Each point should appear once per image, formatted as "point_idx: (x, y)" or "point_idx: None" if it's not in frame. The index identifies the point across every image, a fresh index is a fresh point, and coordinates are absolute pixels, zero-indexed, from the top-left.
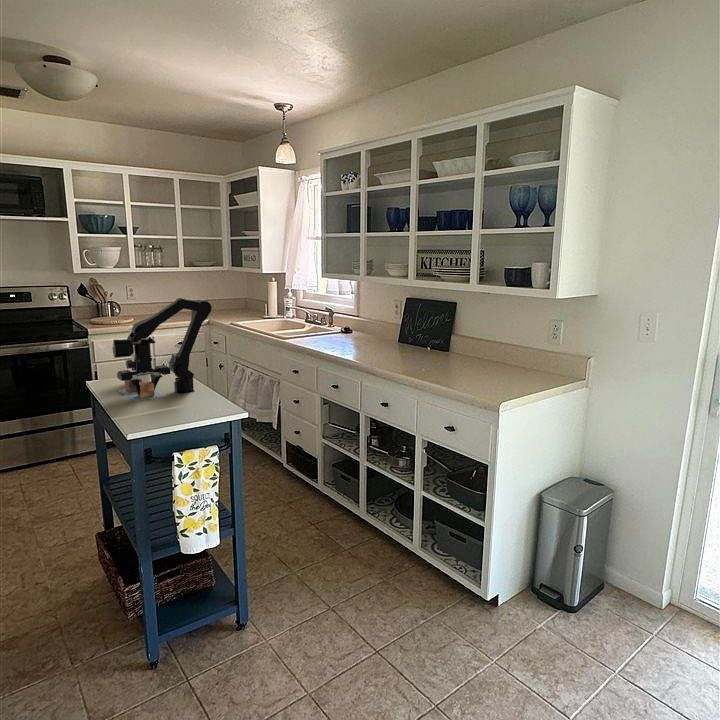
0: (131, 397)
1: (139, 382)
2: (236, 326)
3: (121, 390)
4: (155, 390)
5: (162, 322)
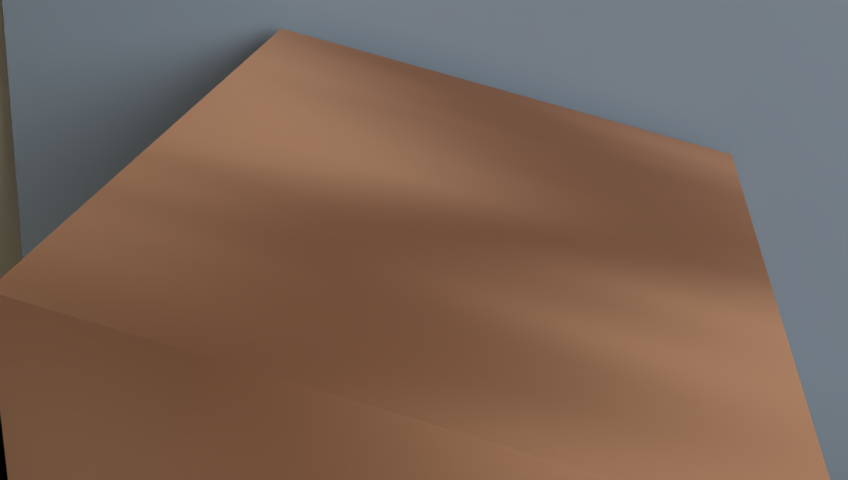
0: (76, 48)
1: (185, 367)
2: None
3: None
4: None
5: None
